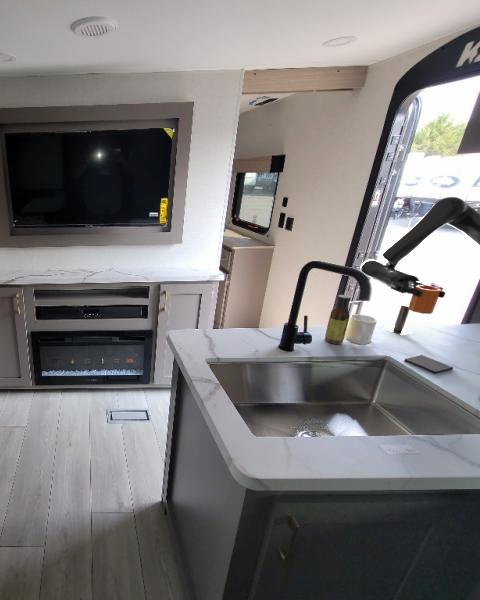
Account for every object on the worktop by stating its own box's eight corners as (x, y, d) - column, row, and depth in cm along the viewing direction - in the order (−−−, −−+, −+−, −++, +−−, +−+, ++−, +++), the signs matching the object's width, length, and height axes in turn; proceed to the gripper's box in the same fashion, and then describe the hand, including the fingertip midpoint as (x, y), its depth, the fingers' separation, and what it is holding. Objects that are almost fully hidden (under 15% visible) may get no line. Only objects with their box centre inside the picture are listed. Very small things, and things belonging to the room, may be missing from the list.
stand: (393, 328, 145) (402, 301, 140) (412, 335, 138) (422, 306, 134) (381, 330, 143) (390, 303, 138) (400, 337, 137) (410, 309, 132)
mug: (373, 351, 127) (381, 327, 123) (346, 346, 131) (353, 323, 127) (367, 338, 137) (374, 316, 133) (342, 334, 141) (349, 312, 137)
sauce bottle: (344, 346, 132) (358, 300, 125) (326, 343, 134) (338, 298, 127) (339, 338, 137) (351, 294, 130) (321, 336, 139) (333, 293, 132)
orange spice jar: (404, 307, 125) (412, 284, 122) (423, 307, 124) (432, 285, 120) (416, 313, 119) (424, 290, 116) (436, 314, 118) (445, 290, 115)
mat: (421, 356, 122) (421, 354, 122) (452, 369, 114) (453, 367, 114) (404, 360, 120) (404, 358, 120) (434, 373, 112) (435, 371, 112)
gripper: (382, 271, 132) (411, 284, 117) (424, 272, 129) (460, 285, 114) (376, 288, 135) (404, 303, 120) (418, 290, 132) (452, 305, 117)
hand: (431, 294), depth 117 cm, fingers closed on orange spice jar, 6 cm apart
